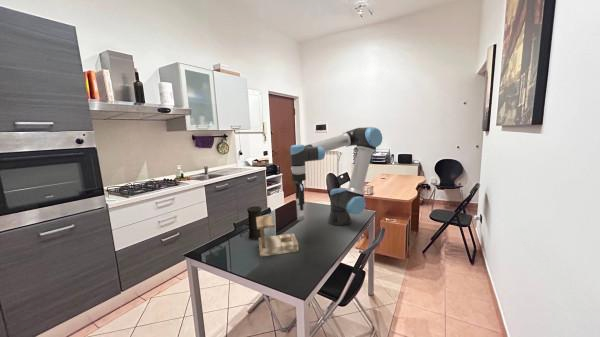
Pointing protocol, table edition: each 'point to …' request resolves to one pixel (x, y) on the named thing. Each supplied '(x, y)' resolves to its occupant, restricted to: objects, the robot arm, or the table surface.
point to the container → (254, 222)
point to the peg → (298, 211)
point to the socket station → (274, 239)
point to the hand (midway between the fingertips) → (300, 214)
